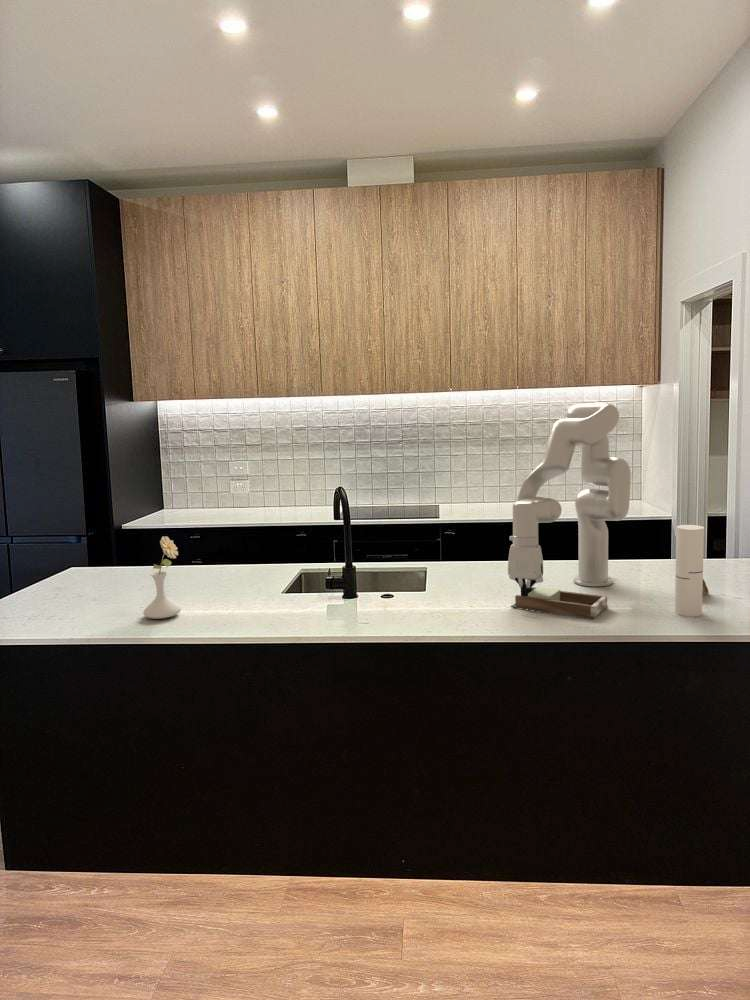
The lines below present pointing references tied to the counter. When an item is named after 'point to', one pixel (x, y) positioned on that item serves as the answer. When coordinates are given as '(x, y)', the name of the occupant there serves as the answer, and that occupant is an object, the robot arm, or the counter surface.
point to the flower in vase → (161, 603)
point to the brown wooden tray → (565, 604)
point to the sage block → (545, 593)
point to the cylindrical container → (689, 570)
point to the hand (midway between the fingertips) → (526, 599)
